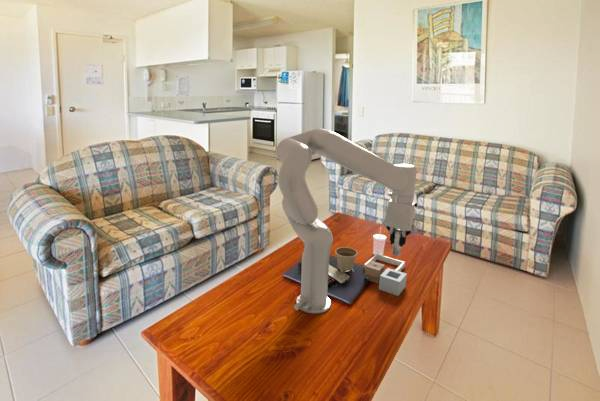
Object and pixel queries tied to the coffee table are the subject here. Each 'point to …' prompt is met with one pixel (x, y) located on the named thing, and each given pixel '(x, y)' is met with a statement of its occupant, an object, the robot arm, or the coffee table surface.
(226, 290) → the coffee table surface
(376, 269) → the walnut block
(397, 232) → the pin
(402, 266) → the u-shaped frame
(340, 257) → the flower pot
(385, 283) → the bore block
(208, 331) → the coffee table surface
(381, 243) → the beverage cup
